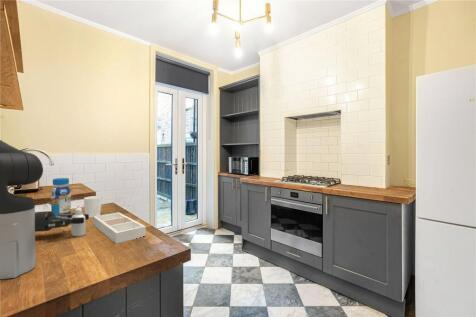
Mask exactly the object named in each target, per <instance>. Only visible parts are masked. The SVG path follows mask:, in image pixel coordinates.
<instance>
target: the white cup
mask: <svg viewBox="0 0 476 317" xmlns="http://www.w3.org/2000/svg"><path fill="white" fill-rule="evenodd" d="M83 203H84V204H83V205H84V208H83V209H84V214H89V219H93V217H94V216H100V215H101V211H102V196H101V195H99V196H98V195H95V196H93V195H92V196H87V197H86V196H85V197H83Z"/></svg>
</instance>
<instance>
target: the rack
mask: <svg viewBox="0 0 476 317" xmlns="http://www.w3.org/2000/svg"><path fill="white" fill-rule="evenodd" d="M92 219H93V226H94V227H95V228H96V229H97V230H99V231H100V232H101V233H103V234H104V235H105V236H106V237H107V238H109V239H110V240H111V241H112V242H113V243H114V244H116V245H117V244H121V243H125V242H129V241H133V240H137V239H141V238H144V237H143V236H145V237H146V236H147V230H146V229H147V226H146V225H144V224H142V223H141V222H139V221H136V220H135V219H132V218H131V217H129V216H126V215H124V214H123V213H121V212H114V213H106V214H100V216H94V217H93V218H92ZM140 237H141V238H140ZM136 238H137V239H136Z"/></svg>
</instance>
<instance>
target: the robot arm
mask: <svg viewBox="0 0 476 317" xmlns="http://www.w3.org/2000/svg"><path fill="white" fill-rule="evenodd" d="M43 174H44V166H43V163H42V161H41V159H40V158H39V157H38V156H37V155H36V154H33V153H31V152H27V151H25V150H24V151H22V150H20V149H19V148H16V147H15V146H12V145H10V144H8V143H7V142H5V141H3V140H0V280H7V279H14V278H17V277H19V276H21V275H23V274H26V273H28V272H30V271H31V270H33V269H34V268H35V267H36V232H47V231H51V230H52V229H58V228H64V227H65V228H67V227H69V226H72V224H81V223H84V218H83V217H82V218H73V219H72V216H73V215H75V212H71V213H64V214H59V215H58V216H55V215H54V213H53V212H51V210H50V211H49V210H48V211H47V210H45V211H36V205H35V204H36V202H35V201H36V200H35V199H34V197H29V196H22V195H17V194H14V193H12V192H9V188H8V187H12V186H13V187H16V186H25V185H31V184H34V183H37V182H38V181H39V180H40V179H41V178H42V176H43ZM82 214H83V213H82ZM83 215H84V216H85V220H86V221H87V220H89V219H90V218H89V214H85V213H84V214H83Z"/></svg>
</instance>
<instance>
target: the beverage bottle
mask: <svg viewBox="0 0 476 317" xmlns="http://www.w3.org/2000/svg"><path fill="white" fill-rule="evenodd" d="M69 184H70V179H69V178H68V177H60V178H59V177H58V178H57V177H56V178H52V186H53V188H51V190H50V193H51V196H50V206H51V207H50V208H51V209H50V211H51V212H53V213H54V215H55V216H58V215H59V214H64V213H72V212H71V210H72V209H71V208H72V207H71V206H72V204H71V203H72V200H71V199H72V194H71V188H70V186H69Z"/></svg>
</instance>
